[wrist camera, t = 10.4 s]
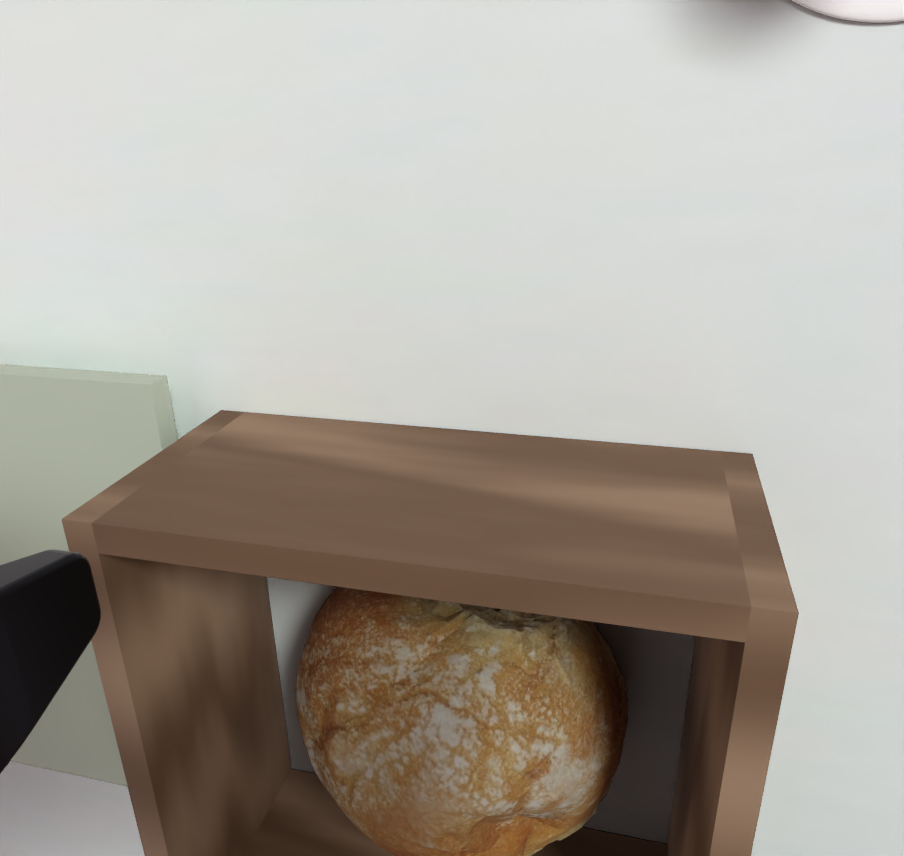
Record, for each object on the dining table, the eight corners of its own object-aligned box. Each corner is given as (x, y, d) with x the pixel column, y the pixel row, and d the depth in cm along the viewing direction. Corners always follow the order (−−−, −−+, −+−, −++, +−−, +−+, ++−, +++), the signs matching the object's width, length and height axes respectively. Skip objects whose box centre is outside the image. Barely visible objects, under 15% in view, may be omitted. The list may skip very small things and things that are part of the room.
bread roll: (631, 537, 26) (623, 566, 18) (629, 847, 25) (619, 1017, 17) (360, 525, 28) (249, 545, 20) (352, 805, 28) (234, 937, 20)
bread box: (689, 865, 26) (700, 1108, 19) (275, 780, 29) (171, 962, 23) (752, 454, 20) (798, 612, 13) (221, 410, 23) (60, 519, 17)
